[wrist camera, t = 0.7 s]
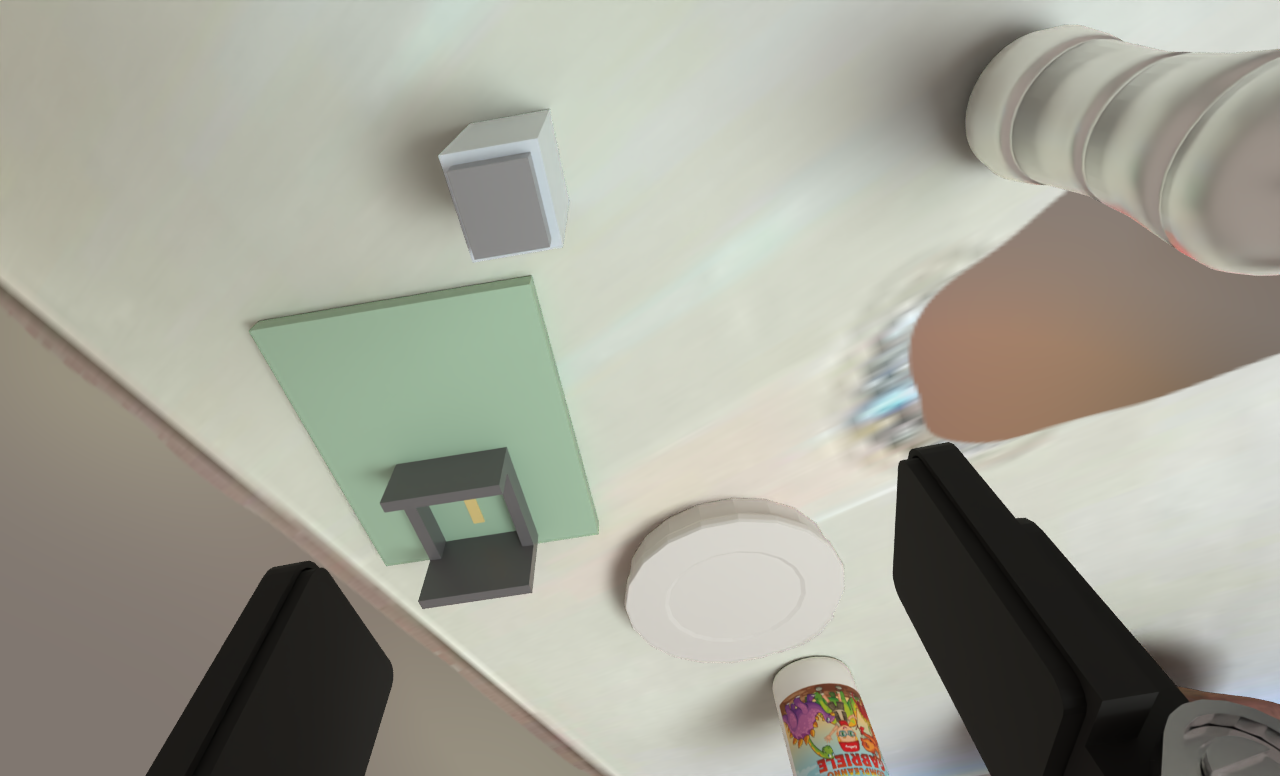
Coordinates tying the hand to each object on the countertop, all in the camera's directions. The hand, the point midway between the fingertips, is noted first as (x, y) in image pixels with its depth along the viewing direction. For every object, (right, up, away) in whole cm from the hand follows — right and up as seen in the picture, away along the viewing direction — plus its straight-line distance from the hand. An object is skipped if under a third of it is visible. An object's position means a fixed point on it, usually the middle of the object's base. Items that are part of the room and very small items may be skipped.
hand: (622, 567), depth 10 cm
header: (-11, -5, +32) cm, 34 cm away
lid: (+8, -13, +40) cm, 43 cm away
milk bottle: (+17, -25, +49) cm, 57 cm away
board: (-12, 0, +30) cm, 32 cm away
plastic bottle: (+19, +18, +21) cm, 33 cm away
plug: (-6, +14, +21) cm, 26 cm away
